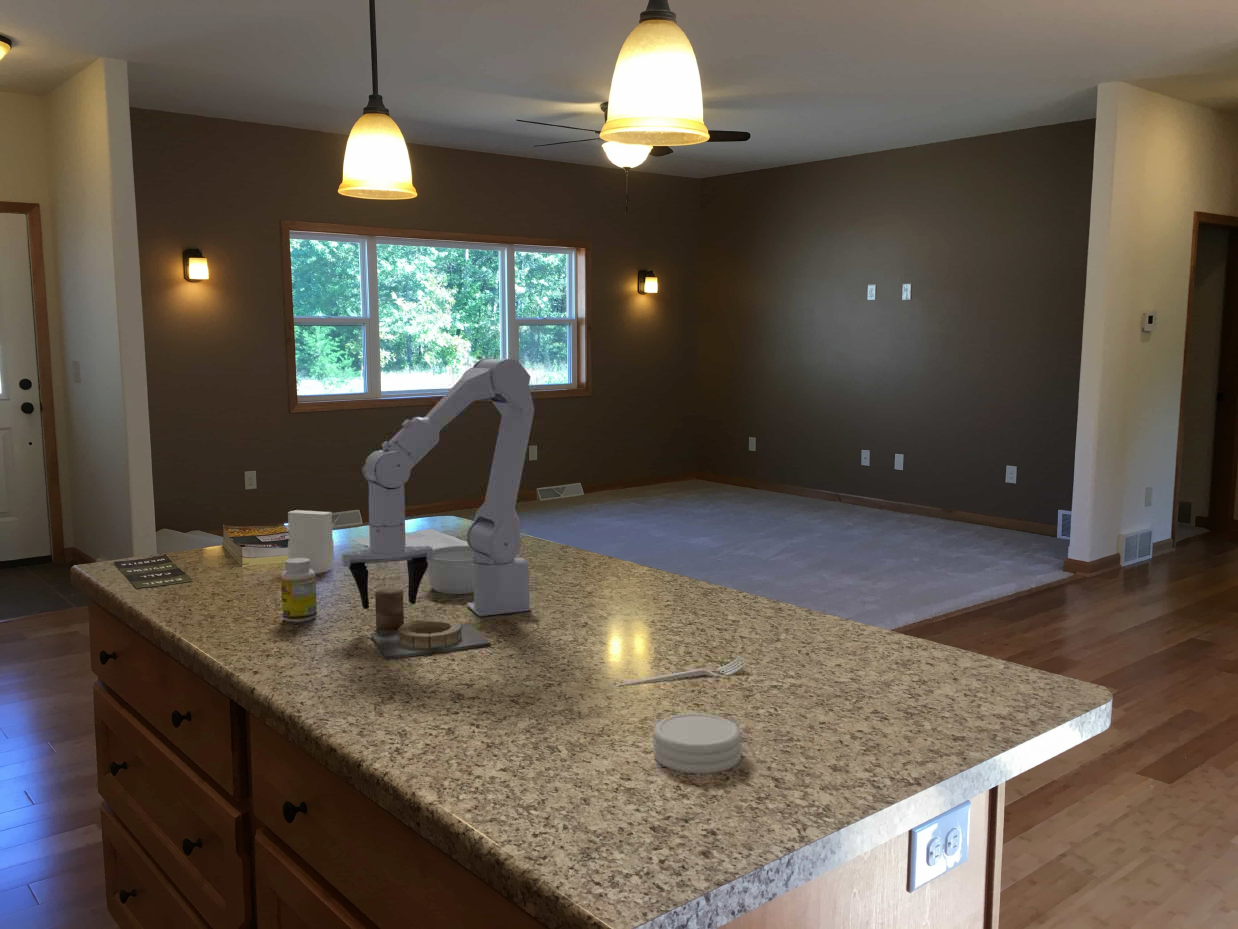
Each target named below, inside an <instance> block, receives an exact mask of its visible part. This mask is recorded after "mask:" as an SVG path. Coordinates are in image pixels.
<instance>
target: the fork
mask: <svg viewBox="0 0 1238 929" xmlns="http://www.w3.org/2000/svg"><path fill="white" fill-rule="evenodd" d="M748 663H749V661H748V660H747V661H746V659H744V658H743V657H742V656H739V657H738V658H736V659H735V660H733V661H731V662H730V663H727V664H725V665H724V666H721V667H718V668H716V669H717V670H719V671H720V673H721V672H722V671H724V672H722V673H724V674H725V675H729V676H733V674H734V675H735V674H737V673H738V672H740V671H741V670H742V669H743V668H744V667H745V666H746V665H747V664H748ZM709 670H710V669H707V668H697V669H696V668H695V669H691V670H687V671H681V672H676V673H671V674H665V675H659V676H654V677H648V678H644V679H637V680H632V681H628V682H622V683H616V684H617V685H626V686H630V685H629V684H634V685H636V684H635V683H641V682H651V683H654V682H653V681H659V682H663V681H662V680H668V681H671V680H670V679H675V678H682V679H687V678H686V677H688V678H692V677H693V676H694V677H699V676H708V677H710V676H716V675H715V674H714V673H712V672H711V671H709ZM684 677H685V678H684ZM660 680H661V681H660Z"/></svg>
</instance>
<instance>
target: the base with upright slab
mask: <svg viewBox="0 0 1238 929" xmlns="http://www.w3.org/2000/svg"><path fill="white" fill-rule="evenodd" d="M287 522H288V525H287V526H288V542H287V544H288V546H287V547H288V548H287V549H288V559H293V558H307V559H309V560H310V569H312V570H313V571H314V572H315V573H316V574H321V573H322V572H323V573H327V572H330V571H329V570H331V571H332V569H333V570H334V569H335V551H334V549H335V546H334V538H333V513H332V511H321V510H320V511H318V510H303V509H302V510H301V509H296V510H291V511H288V512H287Z"/></svg>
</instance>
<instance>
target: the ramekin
mask: <svg viewBox="0 0 1238 929" xmlns="http://www.w3.org/2000/svg"><path fill="white" fill-rule="evenodd" d="M426 561H427V562H428V567H427V572H428V579H429V580H428V581H429V584H430V587H431V588H432V589H433V590H434V591H436V592H437V593H441V594H447V595H449V594H450V595H465V594H474V576H473V550H472V549H471V548H470V547H469V545H451V546H449V545H448V546H442V547H437V548H433V559H429V560H427V559H426Z"/></svg>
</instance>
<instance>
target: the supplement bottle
mask: <svg viewBox="0 0 1238 929" xmlns="http://www.w3.org/2000/svg"><path fill="white" fill-rule="evenodd" d="M284 568H285V570H284V571H283V572H281V574H280V584H281V607H282V608H281V609H282V618H283V620H284V621H286V622H288V623H304V622H309V621H311V620H315V618H317V612H318V611H317V607H318V606H317V584H316V582H317V581H316V578H317V577H316V574H315V572H314V571H313V570H312V569H310V560H309V559H307V558H293V559H289V558H288V559H286V560H285V567H284Z"/></svg>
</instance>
